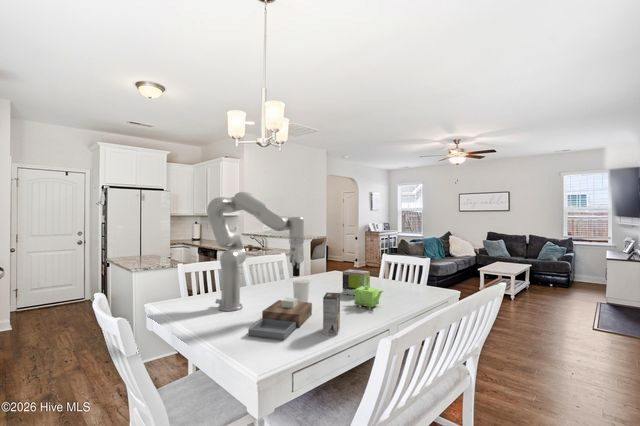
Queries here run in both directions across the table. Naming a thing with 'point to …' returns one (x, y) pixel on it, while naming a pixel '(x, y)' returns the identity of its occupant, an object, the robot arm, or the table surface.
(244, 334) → the table surface
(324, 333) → the coffee box
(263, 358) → the table surface
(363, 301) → the kettle
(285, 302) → the tile
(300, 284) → the candle holder
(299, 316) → the brown slab
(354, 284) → the tea box
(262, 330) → the bin
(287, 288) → the table surface
